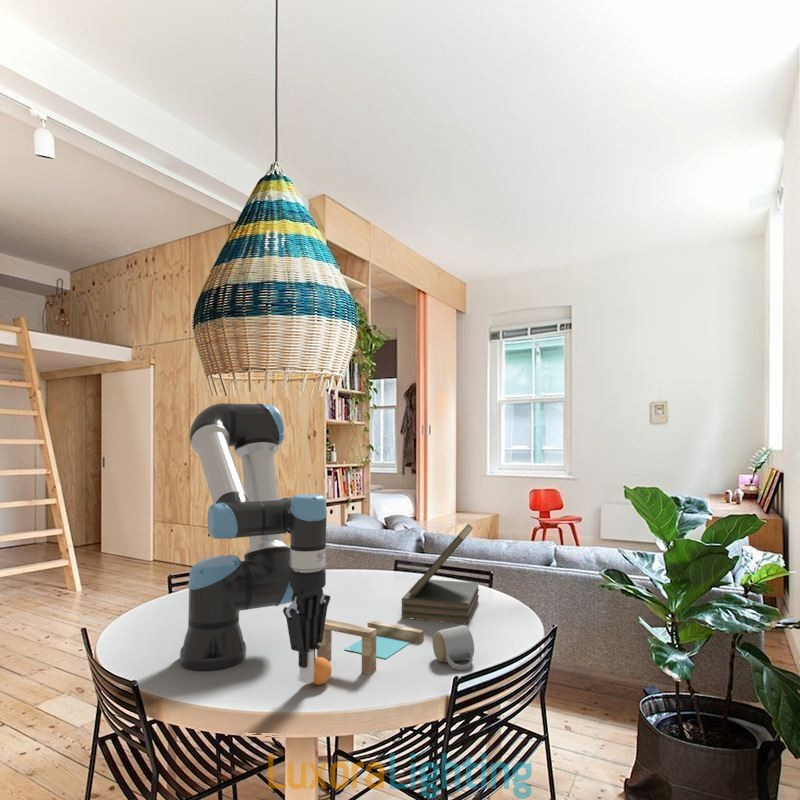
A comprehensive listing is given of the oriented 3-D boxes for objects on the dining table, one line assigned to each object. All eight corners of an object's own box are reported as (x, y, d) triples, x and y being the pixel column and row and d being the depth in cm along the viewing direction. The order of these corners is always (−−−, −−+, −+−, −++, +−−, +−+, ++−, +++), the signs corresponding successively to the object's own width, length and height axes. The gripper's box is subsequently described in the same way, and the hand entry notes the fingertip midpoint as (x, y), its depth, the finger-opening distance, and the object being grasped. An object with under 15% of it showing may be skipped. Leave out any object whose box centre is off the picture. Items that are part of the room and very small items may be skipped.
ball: (301, 658, 131) (318, 650, 136) (299, 683, 131) (316, 675, 135) (321, 665, 128) (337, 657, 133) (319, 691, 128) (335, 683, 132)
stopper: (367, 632, 164) (367, 622, 165) (371, 629, 166) (371, 620, 166) (420, 642, 157) (420, 632, 157) (423, 640, 158) (423, 630, 159)
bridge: (369, 674, 137) (369, 632, 137) (316, 662, 144) (317, 622, 144) (376, 669, 139) (376, 629, 140) (324, 657, 146) (324, 618, 147)
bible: (418, 598, 198) (419, 520, 199) (479, 602, 193) (479, 523, 194) (401, 619, 176) (401, 532, 177) (468, 625, 171) (468, 536, 172)
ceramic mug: (430, 656, 147) (430, 624, 148) (461, 652, 150) (461, 620, 150) (449, 674, 138) (449, 639, 138) (481, 669, 140) (481, 635, 141)
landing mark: (344, 650, 151) (344, 649, 151) (369, 635, 162) (369, 634, 162) (385, 659, 145) (385, 658, 145) (409, 643, 156) (409, 642, 156)
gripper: (301, 577, 122) (299, 697, 121) (340, 564, 133) (339, 674, 132) (273, 572, 126) (271, 688, 125) (313, 560, 137) (312, 666, 136)
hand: (306, 680), depth 129 cm, fingers closed
